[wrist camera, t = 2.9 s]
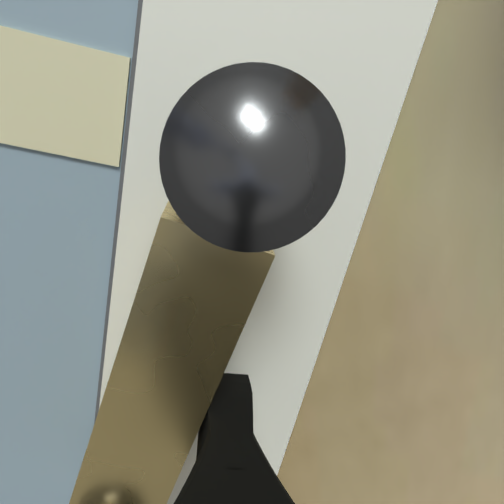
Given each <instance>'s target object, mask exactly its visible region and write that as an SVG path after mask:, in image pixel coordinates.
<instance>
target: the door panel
mask: <svg viewBox="0 0 504 504" xmlns="http://www.w3.org/2000/svg"><path fill="white" fill-rule="evenodd" d="M437 2H438V0H0V504H69V502H70V499H71V496H72V493H73V489H74V486H75V483H76V480H77V477H78V474H79V471H80V468H81V464H82V461H83V458H84V455H85V452H86V449H87V446H88V443H89V439H90V436H91V433H92V430H93V427H94V424H95V421H96V418H97V414H98V411H99V408H100V405H101V402H102V399H103V396H104V393H105V389H106V386H107V383H108V380H109V377H110V374H111V371H112V368H113V364H114V361H115V358H116V355H117V352H118V349H119V346H120V343H121V339H122V336H123V333H124V330H125V327H126V324H127V321H128V318H129V314H130V311H131V308H132V305H133V302H134V299H135V296H136V292H137V289H138V286H139V283H140V280H141V277H142V274H143V271H144V267H145V264H146V261H147V258H148V255H149V252H150V249H151V246H152V242H153V239H154V236H155V233H156V230H157V227H158V224H159V221H160V217H161V215H162V213H163V211H164V209H165V207H166V205H167V202H168V198H167V196H166V193H165V190H164V187H163V184H162V180H161V175H160V167H159V151H160V142H161V138H162V133H163V130H164V127H165V124H166V121H167V119H168V117H169V115H170V113H171V111H172V109H173V107H174V106H175V105H176V103H177V102H178V100H179V99H180V97H181V96H182V95H183V94H184V93H185V92H186V91H187V90H188V89H189V88H190V87H191V86H192V85H193V84H195V83H196V82H197V81H198V80H200V79H201V78H203V77H204V76H206V75H208V74H209V73H211V72H213V71H215V70H218V69H220V68H222V67H225V66H229V65H233V64H237V63H246V62H264V63H269V64H275V65H279V66H281V67H284V68H287V69H290V70H292V71H294V72H296V73H298V74H300V75H301V76H303V77H304V78H306V79H307V80H309V81H310V82H311V83H312V84H314V85H315V86H316V87H317V88H318V89H319V90H320V91H321V92H322V93H323V95H324V96H325V97H326V98H327V100H328V101H329V102H330V104H331V106H332V108H333V109H334V111H335V113H336V115H337V117H338V120H339V122H340V124H341V128H342V132H343V135H344V141H345V148H346V162H345V171H344V176H343V180H342V184H341V187H340V190H339V193H338V195H337V197H336V199H335V201H334V203H333V205H332V207H331V208H330V210H329V211H328V213H327V214H326V215H325V217H324V218H323V219H322V220H321V221H320V222H319V224H318V225H317V226H315V227H314V228H313V229H312V230H311V231H310V232H309V233H307V234H306V235H304V236H303V237H301V238H300V239H298V240H296V241H295V242H293V243H291V244H289V245H286V246H283V247H281V248H278V249H274V250H273V251H274V254H275V258H274V260H273V262H272V264H271V267H270V269H269V271H268V274H267V276H266V278H265V280H264V283H263V285H262V287H261V289H260V292H259V294H258V296H257V299H256V301H255V303H254V305H253V308H252V310H251V312H250V315H249V317H248V319H247V321H246V324H245V326H244V328H243V331H242V333H241V335H240V337H239V340H238V342H237V344H236V346H235V349H234V351H233V353H232V356H231V358H230V360H229V362H228V365H227V367H226V369H225V372H224V373H232V374H246V375H248V376H249V380H250V383H251V388H252V393H253V433H254V435H255V437H256V439H257V441H258V443H259V445H260V447H261V449H262V451H263V453H264V454H265V456H266V458H267V460H268V462H269V463H270V465H271V467H272V469H273V470H274V472H275V474H276V475H277V474H278V471H279V468H280V465H281V462H282V459H283V456H284V454H285V451H286V448H287V445H288V442H289V439H290V436H291V433H292V430H293V427H294V424H295V421H296V418H297V415H298V412H299V409H300V406H301V403H302V400H303V397H304V394H305V391H306V389H307V386H308V383H309V380H310V377H311V374H312V371H313V368H314V365H315V362H316V359H317V356H318V353H319V350H320V347H321V344H322V341H323V338H324V335H325V332H326V329H327V327H328V324H329V321H330V318H331V315H332V312H333V309H334V306H335V303H336V300H337V297H338V294H339V291H340V288H341V285H342V282H343V279H344V276H345V273H346V270H347V267H348V265H349V262H350V259H351V256H352V253H353V250H354V247H355V244H356V241H357V238H358V235H359V232H360V229H361V226H362V223H363V220H364V217H365V214H366V211H367V208H368V205H369V203H370V200H371V197H372V194H373V191H374V188H375V185H376V182H377V179H378V176H379V173H380V170H381V167H382V164H383V161H384V158H385V155H386V152H387V149H388V146H389V143H390V141H391V138H392V135H393V132H394V129H395V126H396V123H397V120H398V117H399V114H400V111H401V108H402V105H403V102H404V99H405V96H406V93H407V90H408V87H409V84H410V81H411V78H412V76H413V73H414V70H415V67H416V64H417V61H418V58H419V55H420V52H421V49H422V46H423V43H424V40H425V37H426V34H427V31H428V28H429V25H430V22H431V19H432V16H433V14H434V11H435V8H436V5H437ZM197 443H198V433H197V435H196V438H195V440H194V442H193V445H192V447H191V449H190V451H189V454H188V456H187V458H186V460H185V463H184V465H183V467H182V470H181V472H180V474H179V476H178V479H177V481H176V483H175V486H174V488H173V490H172V492H171V495H170V497H169V499H168V502H167V504H174V502H175V500H176V498H177V497H178V495H179V493H180V491H181V489H182V487H183V485H184V484H185V482H186V480H187V478H188V476H189V474H190V472H191V470H192V468H193V466H194V464H195V462H196V455H197Z"/></svg>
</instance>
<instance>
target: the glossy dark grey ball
mask: <svg viewBox="0 0 504 504" xmlns="http://www.w3.org/2000/svg"><path fill="white" fill-rule="evenodd" d="M345 162H346V148H345V141H344V135H343V132H342V128H341V124H340V122H339V120H338V117H337V115H336V113H335V111H334V109H333V108H332V106H331V104H330V102H329V101H328V100H327V98H326V97H325V96H324V95H323V93H322V92H321V91H320V90H319V89H318V88H317V87H316V86H315V85H314V84H312V83H311V82H310V81H309V80H307V79H306V78H304V77H303V76H301V75H300V74H298V73H296V72H294V71H292V70H290V69H287V68H284V67H281V66H279V65H275V64H269V63H264V62H246V63H237V64H233V65H229V66H225V67H222V68H220V69H218V70H215V71H213V72H211V73H209V74H208V75H206V76H204V77H203V78H201V79H200V80H198V81H197V82H196V83H195V84H193V85H192V86H191V87H190V88H189V89H188V90H187V91H186V92H185V93H184V94H183V95H182V96H181V97H180V99H179V100H178V102H177V103H176V105H175V106H174V107H173V109H172V111H171V113H170V115H169V117H168V119H167V121H166V124H165V127H164V130H163V133H162V138H161V142H160V151H159V167H160V175H161V180H162V184H163V187H164V190H165V193H166V196H167V198H168V200H169V202H170V204H171V206H172V208H173V209H174V211H175V212H176V214H177V215H178V217H179V218H180V219H181V220H182V221H183V222H184V224H185V225H186V226H187V227H189V228H190V229H191V230H192V231H193V232H194V233H195V234H197V235H198V236H200V237H201V238H203V239H204V240H206V241H208V242H210V243H212V244H214V245H216V246H219V247H222V248H224V249H228V250H232V251H238V252H264V251H270V250H274V249H278V248H281V247H283V246H286V245H289V244H291V243H293V242H295V241H296V240H298V239H300V238H301V237H303V236H304V235H306V234H307V233H309V232H310V231H311V230H312V229H313V228H314V227H315V226H317V225H318V224H319V222H320V221H321V220H322V219H323V218H324V217H325V215H326V214H327V213H328V211H329V210H330V208H331V207H332V205H333V203H334V201H335V199H336V197H337V195H338V193H339V190H340V187H341V184H342V180H343V176H344V171H345Z"/></svg>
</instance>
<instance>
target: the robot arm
mask: <svg viewBox="0 0 504 504" xmlns="http://www.w3.org/2000/svg"><path fill="white" fill-rule="evenodd" d="M174 504H295V503H294V502H293V500H292V499H291V497H290V496H289V494H288V493H287V491H286V490H285V488H284V487H283V485H282V484H281V482H280V480H279V479H278V477H277V475H276V474H275V472H274V470H273V469H272V467H271V465H270V463H269V462H268V460H267V458H266V456H265V454H264V453H263V451H262V449H261V447H260V445H259V443H258V441H257V439H256V437H255V435H254V433H253V393H252V388H251V383H250V380H249V376H248V375H246V374H232V373H224V374H223V376H222V378H221V381H220V383H219V385H218V388H217V390H216V392H215V394H214V397H213V399H212V401H211V403H210V406H209V408H208V410H207V413H206V415H205V417H204V419H203V422H202V424H201V426H200V429H199V431H198V443H197V455H196V462H195V464H194V466H193V468H192V470H191V472H190V474H189V476H188V478H187V480H186V482H185V484H184V485H183V487H182V489H181V491H180V493H179V495H178V497H177V498H176V500H175V502H174Z"/></svg>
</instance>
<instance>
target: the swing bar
mask: <svg viewBox="0 0 504 504" xmlns="http://www.w3.org/2000/svg"><path fill="white" fill-rule="evenodd" d="M274 258H275V254H274V251H273V250H270V251H264V252H238V251H232V250H228V249H224V248H222V247H219V246H216V245H214V244H212V243H210V242H208V241H206V240H204V239H203V238H201V237H200V236H198V235H197V234H195V233H194V232H193V231H192V230H191V229H190V228H189V227H187V226H186V225H185V224H184V222H183V221H182V220H181V219H180V218H179V217H178V215H177V214H176V212H175V211H174V209H173V208H172V206H171V204H170V202H169V200H168V202H167V205H166V207H165V209H164V211H163V213H162V215H161V217H160V221H159V224H158V227H157V230H156V233H155V236H154V239H153V242H152V246H151V249H150V252H149V255H148V258H147V261H146V264H145V267H144V271H143V274H142V277H141V280H140V283H139V286H138V289H137V292H136V296H135V299H134V302H133V305H132V308H131V311H130V314H129V318H128V321H127V324H126V327H125V330H124V333H123V336H122V339H121V343H120V346H119V349H118V352H117V355H116V358H115V361H114V364H113V368H112V371H111V374H110V377H109V380H108V383H107V386H106V389H105V393H104V396H103V399H102V402H101V405H100V408H99V411H98V414H97V418H96V421H95V424H94V427H93V430H92V433H91V436H90V439H89V443H88V446H87V449H86V452H85V455H84V458H83V461H82V464H81V468H80V471H79V474H78V477H77V480H76V483H75V486H74V489H73V493H72V496H71V499H70V502H69V504H167V502H168V499H169V497H170V495H171V492H172V490H173V488H174V486H175V483H176V481H177V479H178V476H179V474H180V472H181V470H182V467H183V465H184V463H185V460H186V458H187V456H188V454H189V451H190V449H191V447H192V445H193V442H194V440H195V438H196V435H197V433H198V431H199V429H200V426H201V424H202V422H203V419H204V417H205V415H206V413H207V410H208V408H209V406H210V403H211V401H212V399H213V397H214V394H215V392H216V390H217V388H218V385H219V383H220V381H221V378H222V376H223V374H224V372H225V369H226V367H227V365H228V362H229V360H230V358H231V356H232V353H233V351H234V349H235V346H236V344H237V342H238V340H239V337H240V335H241V333H242V331H243V328H244V326H245V324H246V321H247V319H248V317H249V315H250V312H251V310H252V308H253V305H254V303H255V301H256V299H257V296H258V294H259V292H260V289H261V287H262V285H263V283H264V280H265V278H266V276H267V274H268V271H269V269H270V267H271V264H272V262H273V260H274Z"/></svg>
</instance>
